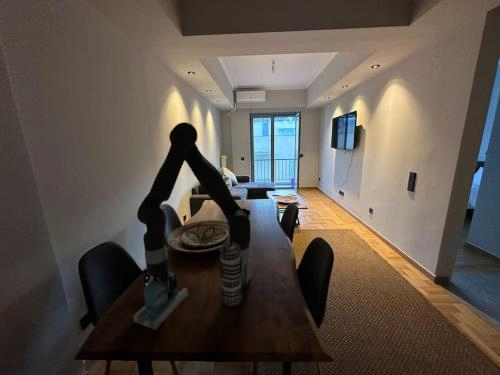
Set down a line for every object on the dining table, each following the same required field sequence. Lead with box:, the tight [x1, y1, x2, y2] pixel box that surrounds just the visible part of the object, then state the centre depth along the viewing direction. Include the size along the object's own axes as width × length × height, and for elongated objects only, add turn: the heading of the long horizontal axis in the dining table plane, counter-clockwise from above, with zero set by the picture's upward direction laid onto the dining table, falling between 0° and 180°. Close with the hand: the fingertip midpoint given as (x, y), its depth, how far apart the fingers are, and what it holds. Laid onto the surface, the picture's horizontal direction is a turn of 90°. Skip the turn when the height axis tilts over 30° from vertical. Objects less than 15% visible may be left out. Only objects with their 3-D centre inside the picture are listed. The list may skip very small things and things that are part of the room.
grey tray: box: [133, 287, 189, 331], centre depth 81 cm, size 10×18×4 cm, turn 160°
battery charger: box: [241, 208, 251, 217], centre depth 184 cm, size 13×10×4 cm
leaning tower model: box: [218, 241, 244, 307], centre depth 82 cm, size 9×9×25 cm
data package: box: [143, 271, 179, 317], centre depth 80 cm, size 12×4×12 cm, turn 157°
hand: (161, 295), depth 80 cm, fingers open, 8 cm apart
